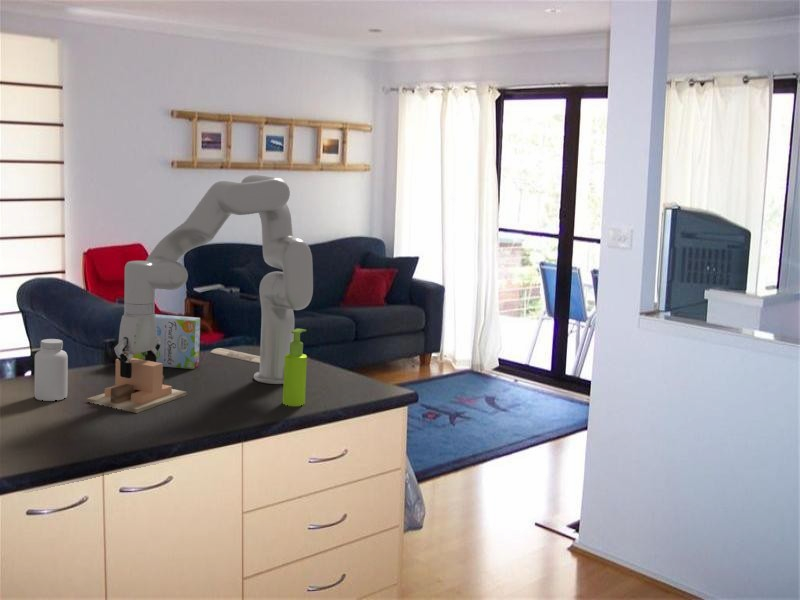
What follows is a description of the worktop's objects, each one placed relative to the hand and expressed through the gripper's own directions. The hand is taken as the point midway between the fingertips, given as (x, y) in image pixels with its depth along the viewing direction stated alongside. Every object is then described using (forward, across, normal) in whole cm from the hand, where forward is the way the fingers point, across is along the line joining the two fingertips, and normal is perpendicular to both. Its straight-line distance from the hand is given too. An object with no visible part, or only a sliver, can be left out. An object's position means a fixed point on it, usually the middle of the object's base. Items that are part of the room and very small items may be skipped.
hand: (138, 373), depth 240 cm
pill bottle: (+7, +12, -18) cm, 23 cm away
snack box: (+7, -33, -18) cm, 38 cm away
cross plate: (+6, 0, 0) cm, 6 cm away
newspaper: (+8, -56, -4) cm, 56 cm away
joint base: (+7, 0, 0) cm, 7 cm away
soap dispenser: (+7, -21, +35) cm, 41 cm away
